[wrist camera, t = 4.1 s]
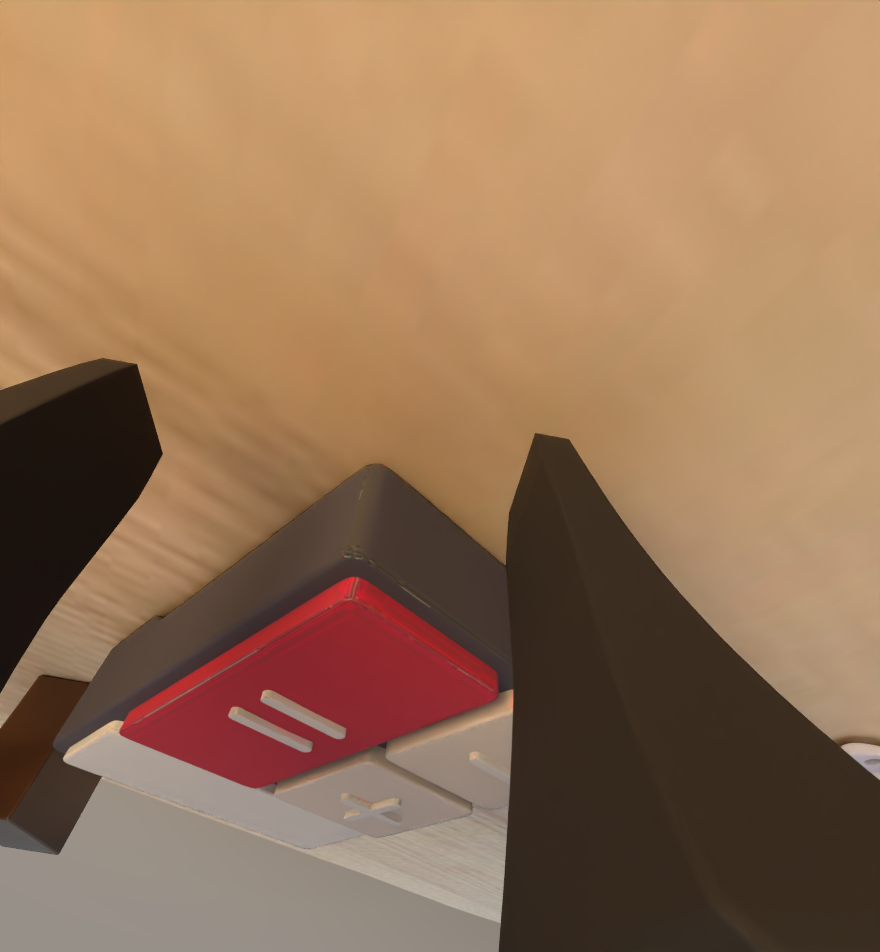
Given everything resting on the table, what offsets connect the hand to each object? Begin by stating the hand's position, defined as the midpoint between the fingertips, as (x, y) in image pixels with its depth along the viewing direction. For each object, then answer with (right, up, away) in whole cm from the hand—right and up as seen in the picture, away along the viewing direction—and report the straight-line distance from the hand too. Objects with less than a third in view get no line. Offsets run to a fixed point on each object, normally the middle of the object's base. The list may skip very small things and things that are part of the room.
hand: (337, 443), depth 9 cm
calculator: (-1, -7, +8) cm, 11 cm away
